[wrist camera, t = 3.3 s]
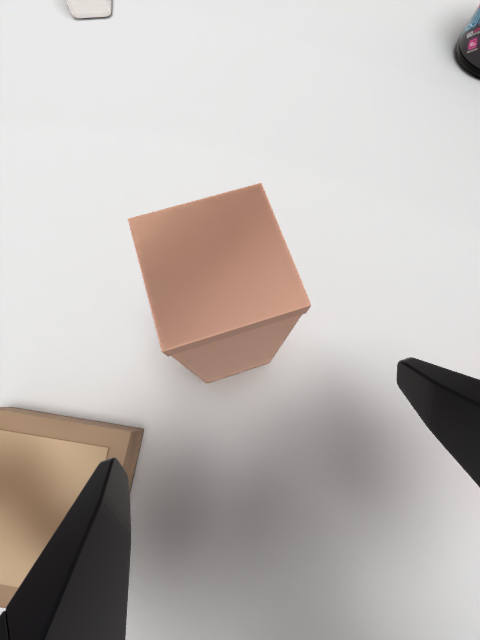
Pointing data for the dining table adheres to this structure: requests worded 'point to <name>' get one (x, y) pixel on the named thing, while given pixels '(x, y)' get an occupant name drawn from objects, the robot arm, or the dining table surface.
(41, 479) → the base block
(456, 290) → the dining table surface
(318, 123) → the dining table surface
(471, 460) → the robot arm
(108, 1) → the pepper shaker
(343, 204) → the dining table surface
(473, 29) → the supplement container
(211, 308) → the terracotta block
